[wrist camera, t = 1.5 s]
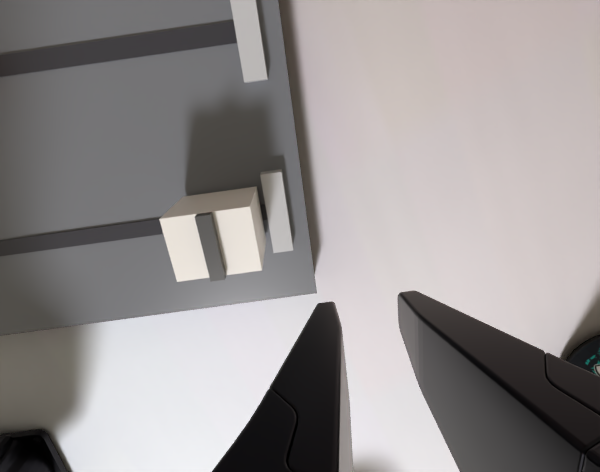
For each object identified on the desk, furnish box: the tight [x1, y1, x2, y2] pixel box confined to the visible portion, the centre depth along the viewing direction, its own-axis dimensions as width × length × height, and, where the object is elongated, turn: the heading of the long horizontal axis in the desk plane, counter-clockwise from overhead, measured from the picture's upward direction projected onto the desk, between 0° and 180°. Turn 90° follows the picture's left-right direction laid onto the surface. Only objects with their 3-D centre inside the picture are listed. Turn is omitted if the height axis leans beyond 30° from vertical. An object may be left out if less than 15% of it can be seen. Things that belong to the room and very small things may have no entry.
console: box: [0, 0, 317, 336], centre depth 18 cm, size 18×24×3 cm
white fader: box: [159, 186, 266, 282], centre depth 16 cm, size 3×4×4 cm
